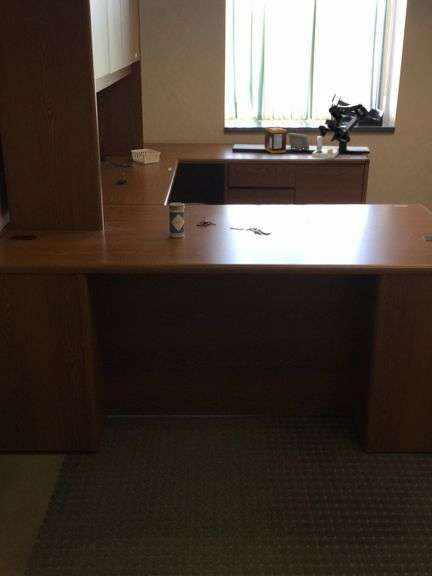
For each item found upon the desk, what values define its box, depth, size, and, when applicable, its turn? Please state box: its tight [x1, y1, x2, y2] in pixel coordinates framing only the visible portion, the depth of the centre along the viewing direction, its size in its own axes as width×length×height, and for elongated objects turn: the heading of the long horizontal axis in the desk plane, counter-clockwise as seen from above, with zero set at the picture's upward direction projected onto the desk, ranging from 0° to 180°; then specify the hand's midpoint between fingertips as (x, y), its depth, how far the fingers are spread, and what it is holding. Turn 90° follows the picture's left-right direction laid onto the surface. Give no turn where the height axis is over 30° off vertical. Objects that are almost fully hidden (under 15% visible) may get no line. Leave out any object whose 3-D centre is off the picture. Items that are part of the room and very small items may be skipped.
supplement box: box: [264, 126, 287, 154], centre depth 442 cm, size 10×15×16 cm
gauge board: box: [311, 148, 339, 159], centre depth 431 cm, size 16×14×5 cm
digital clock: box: [288, 132, 310, 150], centre depth 450 cm, size 16×9×11 cm, turn 37°
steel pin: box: [316, 135, 324, 153], centre depth 427 cm, size 4×4×13 cm
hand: (325, 140), depth 430 cm, fingers open, 9 cm apart
